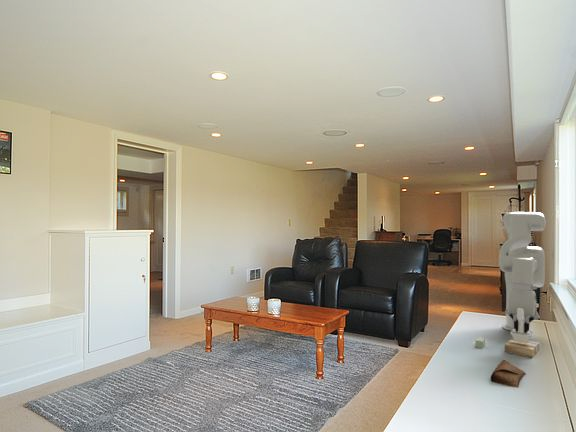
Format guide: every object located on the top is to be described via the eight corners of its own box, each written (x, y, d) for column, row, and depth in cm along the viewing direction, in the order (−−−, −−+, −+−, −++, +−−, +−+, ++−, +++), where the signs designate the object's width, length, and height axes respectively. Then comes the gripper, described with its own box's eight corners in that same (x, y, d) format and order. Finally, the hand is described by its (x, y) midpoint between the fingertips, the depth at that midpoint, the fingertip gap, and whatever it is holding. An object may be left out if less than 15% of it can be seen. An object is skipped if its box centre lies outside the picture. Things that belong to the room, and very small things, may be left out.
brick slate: (521, 347, 173) (522, 340, 173) (524, 346, 175) (524, 339, 175) (537, 351, 169) (537, 344, 169) (540, 350, 171) (540, 342, 171)
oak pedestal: (510, 346, 174) (511, 339, 174) (537, 351, 168) (537, 344, 168) (504, 351, 166) (504, 344, 166) (532, 357, 160) (532, 350, 160)
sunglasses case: (519, 388, 128) (508, 367, 130) (498, 394, 132) (487, 374, 134) (526, 372, 142) (516, 354, 144) (507, 378, 146) (497, 360, 148)
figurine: (533, 340, 169) (533, 304, 169) (529, 345, 161) (530, 308, 162) (513, 337, 173) (514, 302, 173) (509, 341, 166) (510, 305, 166)
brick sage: (477, 344, 177) (477, 337, 177) (484, 345, 176) (484, 338, 176) (475, 347, 172) (475, 340, 172) (482, 348, 171) (483, 341, 171)
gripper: (546, 288, 165) (545, 333, 165) (503, 284, 176) (502, 326, 175) (543, 290, 159) (542, 337, 159) (498, 285, 170) (497, 329, 170)
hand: (521, 331), depth 167 cm, fingers closed on figurine, 2 cm apart
